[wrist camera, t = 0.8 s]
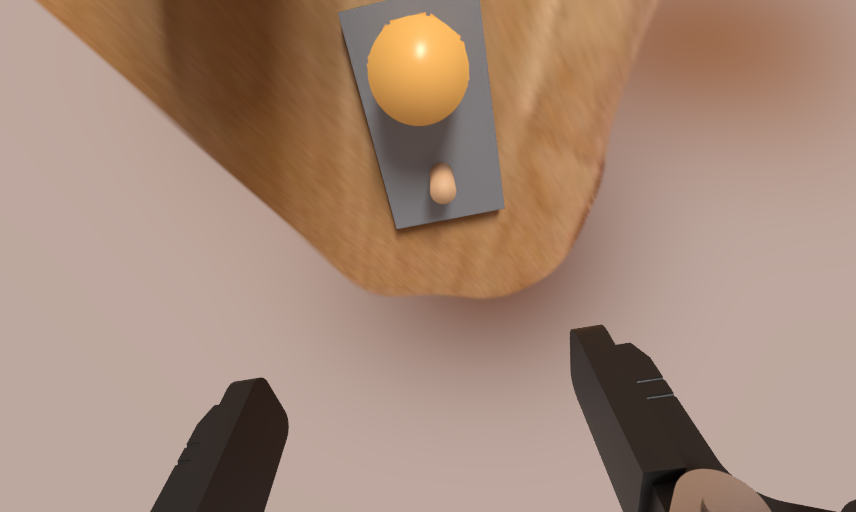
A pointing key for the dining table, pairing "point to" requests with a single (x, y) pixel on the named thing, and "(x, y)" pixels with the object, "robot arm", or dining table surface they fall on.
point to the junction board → (437, 143)
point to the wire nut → (418, 69)
